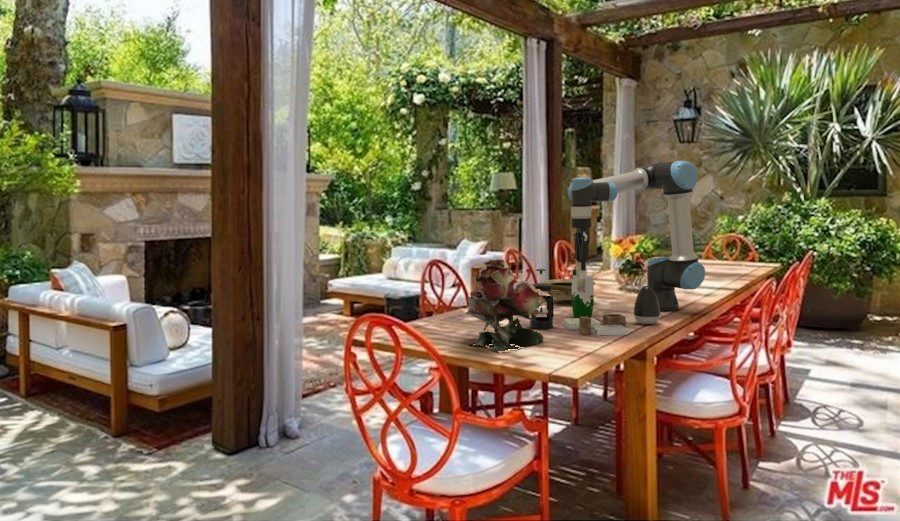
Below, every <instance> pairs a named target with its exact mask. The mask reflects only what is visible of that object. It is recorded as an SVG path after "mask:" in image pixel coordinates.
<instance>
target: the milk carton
mask: <svg viewBox="0 0 900 521" xmlns="http://www.w3.org/2000/svg"><path fill="white" fill-rule="evenodd" d="M571 279H572V304H571V307H572V308H571V309H572V314H573V315H572V316H573V319H574V318H579V317H581V316H588V317H589V318H593V316H592V315H593V312H594V303H595V302H594V301H595V299H594V298H595V297H594V296H595V295H594V293H595V292H594V291H595V289H594V286H595V285H593V281H594V279H593V273H586V279H585V292H584V293H579V292H577V269H572V275H571Z"/></svg>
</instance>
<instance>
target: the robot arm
mask: <svg viewBox="0 0 900 521" xmlns="http://www.w3.org/2000/svg"><path fill="white" fill-rule="evenodd" d="M698 176H699V173H698V171H697V169H696V166H694V164H692V162H690V161H687V160H686V161H685V160H672V161H671V160H669V161H659V162H658V161H657V162H653V163H652V164H649V165H644V166H641V167H637V168H635V169H634V170H633V171H629V172H625V173H620V174H616V175H611V176H607V177H603V178H602V177H601V178H598V179H592V177H588V176H587V177H585V176H584V177H574V178H572V179H571V185H569V187H567V197H568V198H569V200H570V201H571V211H570V213H571V214H570V215H571V218H572V219H571V228H572V229H575V233H573V239H574V259H575V261H576V262H577V261H578V262H579V279H586V274H587V262H588V261H589V243H590V235H589V234H588V232H587V229H590V228H592V218H590V217H592V212H593V208H592V202H593V203H596V202H597V203H598V202H604V203H605V202H607V203H608V202H613V201H615V200H616V199H617V197H618V194H621V193H625V192H628V191H629V192H630V191H634V190H639V191H645V190H662V191H663V192H662V195H663V196H664V198H666V199H667V205H668V206H667V207H668V208H667V209H668V218H669V219H668V221H669V230H670V233H669V234H670V242H671V252H672V253H671V255H670V256H661V257H660V256H659V257H650V258H648V261H647V266H646V270H647V271H646V273H647V274H646V276H647V278H646V280H647V282H646V283H647V284H646V286H650V287H652V288H653V289H654V291H655V293H656V295H657V298H658V302H659V306H660V312H666V311H665V310H674V309H678V308H680V307H679V306H680V305H679V304H680V303H679V301H678V298H677V295H676V289H675V288H677V289H682V290H691V291H693V290H695V289H697V288H699V287H701V285H702V283H703V282H704V280H705V277H706V269H705V266H704V265H703V264H702V263H701V262H699V257H698V255H697V253H696V254H695V253H694V241H693V239H694V238H693V229H692V217H691V216H692V215H691V214H692V213H691V205H690V204H691V203H690V196H691V195H692V193H693V191H694V190H693V188H695V186H696V185H697V182H698V179H699V178H698ZM678 310H679V309H678ZM674 311H675V310H674Z"/></svg>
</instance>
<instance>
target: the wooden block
mask: <svg viewBox="0 0 900 521" xmlns="http://www.w3.org/2000/svg"><path fill="white" fill-rule="evenodd" d="M591 318H592V317H591ZM591 318H589V317H588V316H581V317H579V330H578V332H579V333H580V334H581V335H583V336H588V335H589V336H590V335H592V332H591Z"/></svg>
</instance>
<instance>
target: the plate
mask: <svg viewBox="0 0 900 521" xmlns="http://www.w3.org/2000/svg"><path fill="white" fill-rule="evenodd" d="M629 330H630V329H629V328H627V326H626V327H624V326H622V325H603V324H602V325H601V324H600V325H598V326H591V333H592V332H593V333H594V334H593V333H592V334H593V335H595V336H596V335H597V336H596V337H601V336H600V335H609V336H627V335H628V334H630V331H629Z"/></svg>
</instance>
